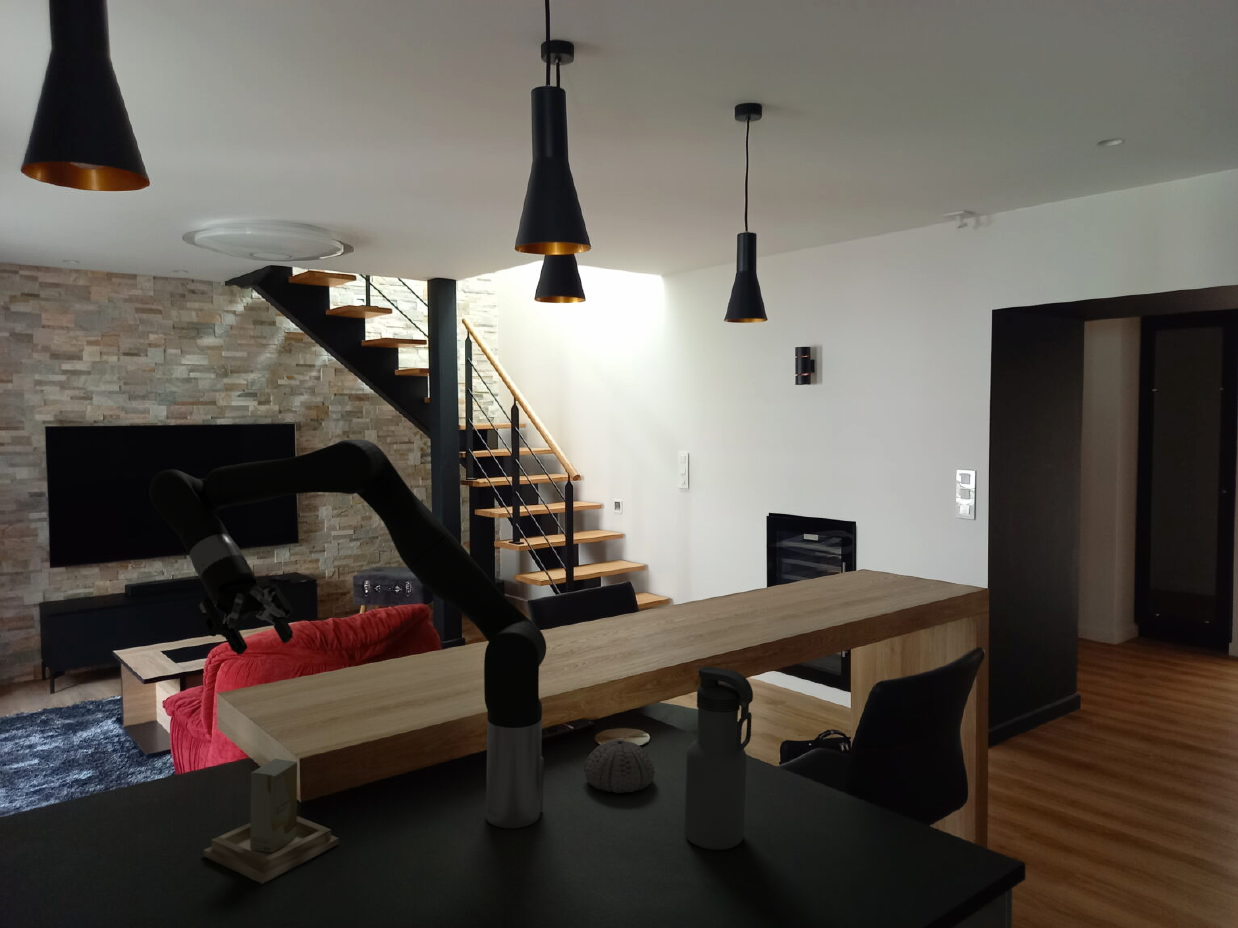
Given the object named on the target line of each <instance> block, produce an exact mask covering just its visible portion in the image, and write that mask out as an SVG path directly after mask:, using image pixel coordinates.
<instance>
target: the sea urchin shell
mask: <svg viewBox="0 0 1238 928" xmlns="http://www.w3.org/2000/svg"><path fill="white" fill-rule="evenodd" d="M583 766H584V767H583V771H584V776H585V777H586V781H587V782H588V783H589V785H591V786H592V787H593V788H595V789H597V790H599V791H600V790H603V791H604V792H609V793H612V792H614V793H616V794H618V793H619V794H622V793H631V792H632V793H634V792H635V791H641V790H644V789H645V788H648V786H649V785H651V782H652V781H653V780H654V777H655V773H656V772H655V767H654V763H653V760H651V757H650V756H649V754H648V752H646V751H645V749H643V748H642V746H640V745H639V744H637V743H635V742H633V741H630V740H629V741H627V740H624V739H621V738H615V739H611V740H609V741H605V742H604V743H601V744H599V745H598V746H597V747H596V748H595V749H593V750H592V751H591V753H590V754H589V755H588V757H587V758H586V760H585V761H584V764H583Z"/></svg>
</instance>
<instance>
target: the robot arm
mask: <svg viewBox="0 0 1238 928" xmlns="http://www.w3.org/2000/svg"><path fill="white" fill-rule="evenodd" d="M148 491H149V498H150V501H151V503H152V506H153V507H154V508H155V510H156V511H157V513H158V514H159V515H160V516H161V518H163V520H164V521H165V522H166V523H167V525H168V526H169V528H171V529H172V530H173V531H174V532H175V534H176V535H177V536H178V538H179V539H180V541H181V543H182V545H183V547H184V548H185V550H186V553H187V554H188V556H189V559H190V560H191V563H192V566H193V568H194V570H195V572H196V574H197V576H198V577H199V579H200V581H201V583H202V585H203V587H204V589H205V590H206V592H207V594H208V596H206V597H203V599H202V601H201V602H200V604H199V605H198V606H197V611H198V613H199V614H200V617H201V619H202V621H203V623H204V625H205V628H206V630H207V632H208V634H209V636H211V637H216V636H222V637H223V638H225V640H226V642H227V643H228V645H229V647H230V649H231V651H233V653H235V654H237V656H240V655H243V654H244V653H245V652H246V651H247V650H248V645H247V643H246V641H245V639H244V637H243V636H242V634H241V632H240V630H239V628H236V624H237V621H238V622H240V621H243V620H246V619H255V618H257V619H259V620H261V621H264V620H265V621H267V622H268V623H270V624H272V625H274V626H273V629H274V630H275V632H276V634H277V635H278V637H279V639H280V640H281V643H283V644H286V643H289V642H290V641H291V639H292V638H293V635H294V632H293V628H291V626H290V623H289V622H288V620H287V618H288V617H289V616H290V615H291V613H292V612H293V607H292V606H291V604H290V603H289V602H288V600H287V598H286V597H285V594H283V591H281V589H280V588H279V586H278V585H277V584H272V585H270V587H269V588H265V589H262V588H261V587H259V586H258V583H257V579H256V575H255V573H254V572H253V570H252V568H251V567H250V564H249V563H248V561H247V560H246V558H245V556H244V554H243V553H242V551H241V549H240V547H239V546H238V544H236V542H235V541H234V540H233V538H232V537H231V535H230V533H229V532H228V530H227V528H226V527H225V524H223V522H222V520H221V518H220V517H219V516H218V514H215V512H218V511H220V510H222V509H224V508H228V507H235V506H241V505H243V506H244V505H249V504H255V503H260V502H265V501H269V500H274V499H277V498H280V497H285V496H290V495H297V494H298V495H299V494H307V493H309V494H310V493H328V494H329V493H330V494H335V493H337V494H346V495H354V494H355V495H358V496H359V497H360V498H361V499H362V500H363V501H364V502H365V503H366V504H367V505H368V506H369V508H371V509H372V510H373V511H374V513H376V515H378V517H379V518H380V519H381V521H382V522H383V524H384V526H385V528H386V529H387V531H388V534H389V536H390V538H391V541H392V543H393V544H394V547H395V549H396V552H397V553H398V555H399V557H400V558H401V560H402V562H404V564H405V566H406V567H407V568H408V569H409V571H410V572H411V573H412V574H413V575H414V576H415V578H417V580H418V581H419V582H420V583H421V584H422V585H423V586H424V587H425V588H426V589H427V591H428V592H430V593H431V594H433V595H434V596H435V597H436V598H438V599H439V600H441V601H443V602H444V603H446V604H447V605H449V606H450V607H452V608H454V609H456V610H457V611H459V613H462V614H463V615H464V616H465V617H467V618H468V619H469V620H470V622H472V624H474V625H475V627H476V628H477V629H478V630H479V631H480V633H481V634H482V635H483V637H485V639H486V640H487V642H488V643H487V645H486V648H485V651H484V657H483V658H484V660H483V674H484V675H483V680H484V681H483V682H484V683H483V687H484V696H483V697H484V704H485V708H486V710H487V711H486V712H487V721H486V722H487V724H486V725H487V726H486V727H487V728H486V729H487V730H486V733H487V734H486V735H487V736H486V742H487V743H486V792H485V793H486V794H485V796H486V797H485V798H486V799H485V818H486V819H485V820H486V821H487V822H488V823H489V824H491V825H492V826H495V827H498V828H501V829H503V828H504V829H520V828H525V827H529V826H530V825H534V823H537V821H539V819H540V816H541V812H543V810H544V778H545V777H544V773H545V771H544V769H545V768H544V767H545V766H544V765H545V762H544V761H545V760H544V757H543V756H542V738H543V737H542V734H543V733H542V728H543V727H542V726H543V724H542V723H543V722H542V721H543V719H542V717H543V704H542V701H541V700H540V697H539V696H540V694H539V692H540V691H539V689H540V687H539V684H540V683H539V682H540V681H539V679H540V678H539V677H540V675H539V673H540V666H541V665H542V663H543V662H544V659H545V657H546V653H547V642H546V640H545V639H546V638H545V636H544V634H543V632H542V630H540V628H539V627H538V626H537V625H536V624H535V623H534V622H533V621H532V620H531V619H530V618H529V617H527V616H526V615H525V614H524V613H523V612H522V611H521V610H520V609H519V608H518V607H517V606H515V604H513V603H512V602H511V601H510V599H508V598H507V596H505V595H504V594H503V593H502V592H501V591H500V590H499V589H498V587H497V586H496V585H495V584H494V583H493V581H492V580H491V578H489V576H488V575H487V573H485V571H484V570H483V568H482V567H480V565H479V563H477V562H476V561H475V560H474V558H473V557H472V556H471V555H470V553H468V551H467V550H466V549H465V547H464V546H463V545H462V544H461V542H459V541H458V539H457V538H456V537H455V535H453V534H452V533H451V531H450V530H449V529H448V528H447V527H446V526H444V524H443V523H442V522H441V521H440V520H439V519H438V517H436V515H434V513H433V511H431V510H430V508H428V507H427V506H426V505H425V504H424V502H422V500H420V499H419V498H418V496H417V495H415V493H414V492H413V491H412V490H411V489H410V488H409V486H408V484H406V482H405V481H404V479H403V478H402V476H401V475H400V473H399V472H398V470H397V469H396V468H395V467H394V465H393V464H392V462H391V461H390V459H389V457H388V456H387V455H386V453H384V451H383V450H382V449H381V448H380V447H379V446H378V445H376V443H373V442H372V441H370V440H366V439H344V440H340V441H337V442H336V443H333V444H331V445H329V446H325V447H322V448H320V449H317V450H313V451H312V452H307V453H304V454H302V455H297V456H293V457H287V458H279V459H273V460H272V459H270V460H269V459H268V460H260V461H249V462H244V463H238V464H232V465H225V466H220V467H216V468H214V469H212V470H211V471H209V472H208V473H207V476H206V477H204V478H196V477H194V476H192V475H189V474H188V473H185V472H183V471H182V470H179V469H164V470H161V471H160V472H158V473H157V474H155V476H153V478H152V479H151V481H150V484H149V490H148ZM263 607H264V609H265V610H264V611H262V610H263ZM218 611H220V612H221V613H223V614H224V617H223V621H222V619H221V616H220V614H219V612H218Z"/></svg>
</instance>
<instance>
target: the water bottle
mask: <svg viewBox="0 0 1238 928" xmlns="http://www.w3.org/2000/svg"><path fill="white" fill-rule="evenodd" d="M698 677H699V678H700V683H699V686H698V687H697V689H696V708H697V734H696V735H697V736H696V740H694V741H693V742H692V743H690V745H689V746H688V748H687V751H686V766H685V767H686V768H685V771H686V772H685V773H686V774H685V798H684V799H685V800H684V801H685V802H684V803H685V804H684V835H685V837H686V839H687V840H688V841H689V842H690V843H692V844H693V845H695V846H697V847H699V848H702V849H705V850H706V849H707V850H710V851H711V850H712V851H725V850H729V849H733V848H735V847H737V846H738V845H740V844H741V843H742V841H743V839H744V837H745V835H744V833H745V808H746V807H745V805H746V781H747V753H746V751H745V748H746V747H747V745H749V743H750V741H751V738H752V737H751V736H752V719H753V718H752V716H753V714H752V712H750V710H749V709H750V704H751V703H752V702H753V700H754V693H753V692H754V691H753V688H752V685H751V683H750V682H749V680H748V679H747V678H746V676H744V675H743V673H740V672H738V671H735V670H732V669H728V668H724V667H723V668H721V667H716V666H709V665H708V666H701V667H699V668H698ZM739 711H740V718H739ZM738 718H739V719H738ZM745 722H746V733H745V734H746V735H745V739H744V740H743V741H742V731H743V725H744V723H745Z"/></svg>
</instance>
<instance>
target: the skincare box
mask: <svg viewBox="0 0 1238 928" xmlns="http://www.w3.org/2000/svg"><path fill="white" fill-rule="evenodd" d="M297 800H298V761H293V760H286V759H280V758H274V759H272V760H271V761H268V762H267V763H265V764H263V765H261V766H260V767H259V768H257V769H255V770H254V771H251V772H250V821H249V823H250V849H252V850H258V851H264V852H271V853H274V852H275V851H277V850H278V849H280V848H281V847H282V846H284V845H285V844H286V843H288V842H289V841H290V840H292V839H293V838H294V837H295V836H296V831H297V816H298V815H297V813H298V811H297V810H298V808H297V807H298V806H297V805H298V801H297Z"/></svg>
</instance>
